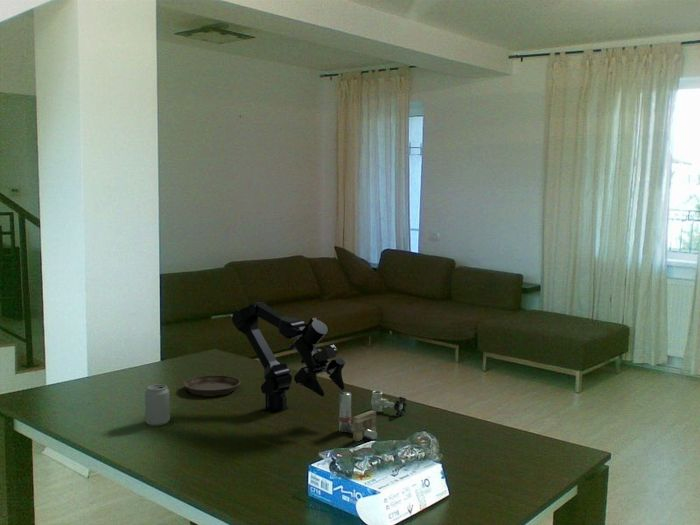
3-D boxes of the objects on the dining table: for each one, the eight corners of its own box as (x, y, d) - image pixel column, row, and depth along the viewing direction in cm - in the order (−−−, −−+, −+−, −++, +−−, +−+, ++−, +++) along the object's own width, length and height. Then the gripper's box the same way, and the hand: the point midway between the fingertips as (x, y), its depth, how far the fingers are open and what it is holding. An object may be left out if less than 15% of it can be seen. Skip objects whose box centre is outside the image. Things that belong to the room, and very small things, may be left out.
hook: (335, 431, 209) (335, 393, 208) (344, 427, 213) (344, 390, 211) (370, 442, 200) (370, 403, 199) (379, 438, 203) (380, 400, 202)
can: (174, 421, 218) (174, 384, 217) (159, 428, 211) (158, 391, 210) (156, 417, 221) (155, 381, 220) (140, 424, 214) (139, 387, 213)
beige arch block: (353, 441, 202) (353, 417, 201) (370, 433, 208) (371, 410, 207) (358, 442, 201) (358, 418, 200) (376, 435, 207) (376, 411, 206)
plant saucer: (213, 379, 267) (213, 371, 266) (251, 388, 255) (251, 380, 254) (172, 392, 250) (172, 383, 250) (210, 402, 238) (210, 393, 238)
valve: (366, 412, 229) (397, 419, 222) (366, 393, 228) (397, 399, 221) (376, 407, 234) (407, 413, 227) (377, 388, 233) (407, 394, 227)
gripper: (300, 342, 207) (326, 384, 200) (341, 333, 220) (366, 372, 214) (282, 363, 212) (307, 404, 206) (323, 353, 226) (348, 391, 220)
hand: (333, 392), depth 212 cm, fingers open, 9 cm apart
